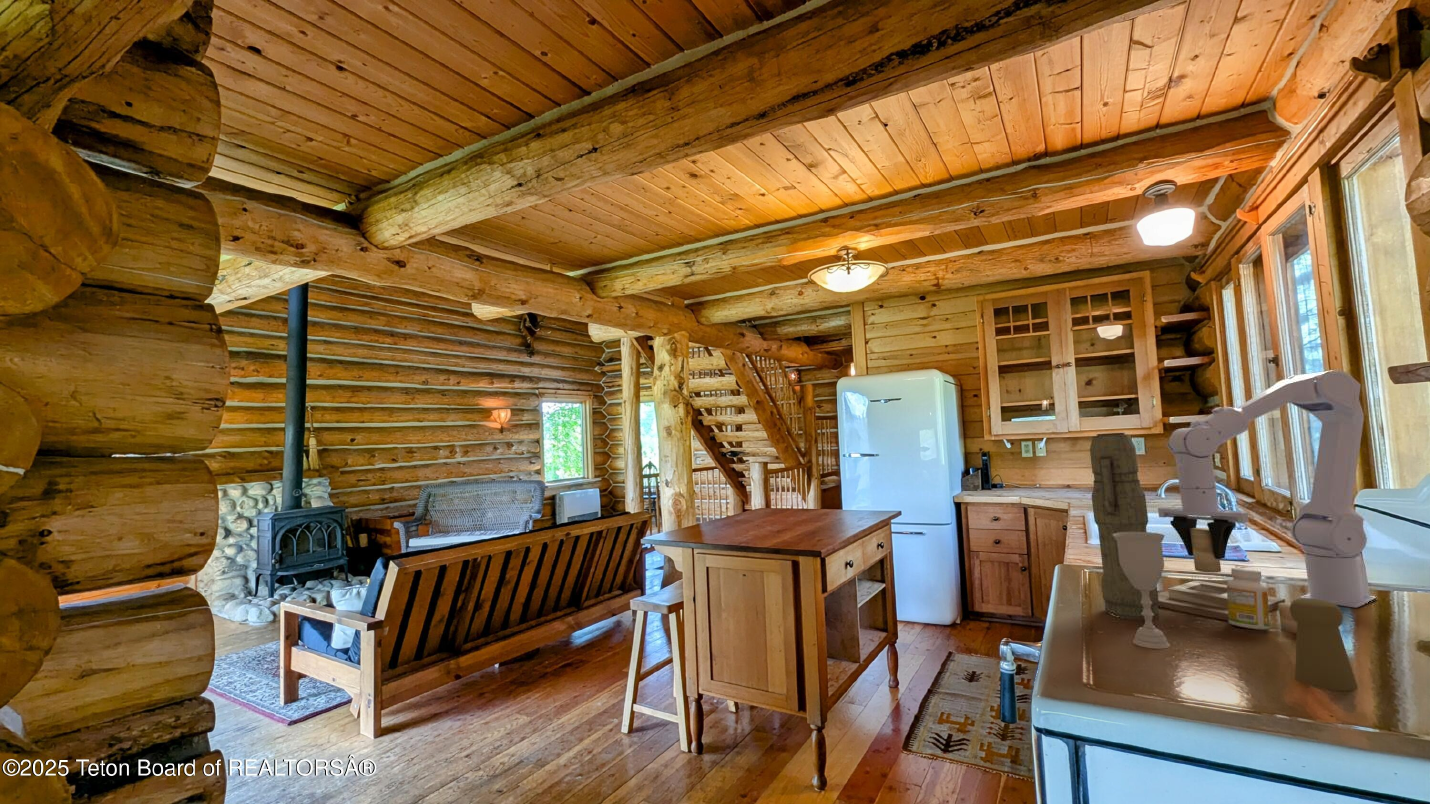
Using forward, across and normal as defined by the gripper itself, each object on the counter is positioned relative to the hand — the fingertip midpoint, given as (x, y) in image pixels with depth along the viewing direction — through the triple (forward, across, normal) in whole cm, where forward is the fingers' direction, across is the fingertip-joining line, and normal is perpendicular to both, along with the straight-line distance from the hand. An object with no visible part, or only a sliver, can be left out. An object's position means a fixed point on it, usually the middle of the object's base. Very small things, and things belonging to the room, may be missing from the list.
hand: (1206, 556), depth 118 cm
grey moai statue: (+10, -6, -16) cm, 20 cm away
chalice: (+10, +5, -30) cm, 32 cm away
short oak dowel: (+9, +15, -6) cm, 19 cm away
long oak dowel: (+3, 0, 0) cm, 3 cm away
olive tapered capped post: (+10, +26, -28) cm, 39 cm away
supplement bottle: (+10, +10, -10) cm, 17 cm away
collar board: (+9, 0, 0) cm, 9 cm away
